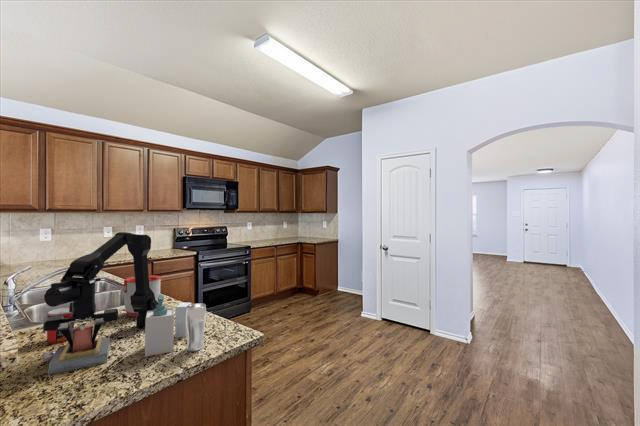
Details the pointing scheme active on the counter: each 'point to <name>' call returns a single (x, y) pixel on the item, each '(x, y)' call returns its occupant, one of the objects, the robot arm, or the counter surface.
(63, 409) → the counter surface
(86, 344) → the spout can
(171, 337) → the soap bottle
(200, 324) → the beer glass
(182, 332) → the skincare box
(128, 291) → the citrus juicer
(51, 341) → the canned food
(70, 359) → the grey and gold frame
